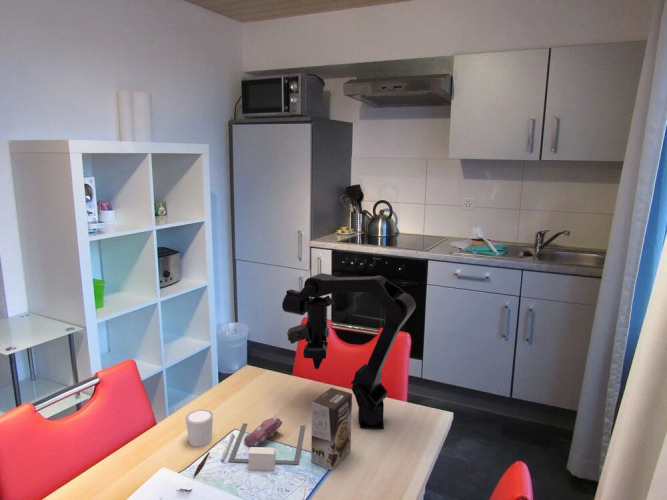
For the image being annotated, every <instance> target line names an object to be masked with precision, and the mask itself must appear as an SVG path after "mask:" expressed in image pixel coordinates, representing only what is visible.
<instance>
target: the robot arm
mask: <svg viewBox="0 0 667 500" xmlns="http://www.w3.org/2000/svg"><path fill="white" fill-rule="evenodd" d="M337 293H338V294H342V293H343V294H346V293H353V294H354V293H371V294H372V295H373V296H374V297H375V298H376V300H377V302H378V305H380V306H381V307H382V308H383V309H384V310H385V311H384V316H383V320H384V321H383V324H384V325H383V328H382V329H381V331H380V334H379V337H378V338H377V341H376V343H375V346H374V348H373V349H372V352H371V355H370V356H369V359H368V362H367V364H366V363H364V364H363V365H362V366H360V368H358V369H357V370H356V371H355V374H354V378H353V380H352V381H351V382H350V384H351V385H352V386H351V391H352V394H353V395H354V397H355V400H356V404H357V407H358V409H357V410H358V411H357V412H358V413H357V414H358V415H357V417H358V418H357V419H358V421H357V422H358V423H359V428H360V429H375V430H381V429H382V430H383V429H385V426H384V425H385V424H384V411H385V410H384V408H385V407H384V406H385V403H384V399H386V398H387V395H388V393H389V391H388V390H387V389H386V388H385V387H384V385H383V384H382V378H383V371H382V370H383V367H384V366H385V363H386V361H387V359H388V357H389V354H390V353H391V350H392V348H393V346H394V344H395V341H396V338H397V337H398V334H399V332H400V330H401V328H402V327H403V326H404V324H405V323H406V322H407V321H408V319H410V317H411V315H412V314H413V313H414V311H415V309H416V307H417V303H416V301H415V299H414V297H413V296H412V295H411V294H409V293H407V292H405V291H404V290H403V289H402V288H401V287H399V286H397V285H395V284H394V283H392V282H391V281H389V280H388V279H387V278H386V277H384V276H383V275H376V276H346V277H345V276H342V277H341V276H335V275H332V274H328V273H324V272H322V273H317V274H315V275H312V276H310V277H308V278H307V279H306V280H305V281H304V285H303V288H302V289H301V290H300V291H299V290H295V289H292V288H290V289H287V290H286V294H285V296H284V298H283V301H282V302H281V307H282V310H283V312H285V313H288V314H294V315H299V316H304V315H305V314H306V315H307V319H306V323H303V324H299V325H296V326H292V327H290V328H288V330H287V333H286V336H287V340H288V341H289V343H290V344H291V345H292V344H296V343H298V342H300V341H303V340H304V342H306V345H304V348H303V353H302V354H303V358H304V359H312V363H313V367H314V369H315V370H319V368H320V367H321V364H322V362H323V360H325V359H327V354H328V353H327V351H328V345H329V343H328V341H327V339H328V338H329V337H330V327H328V319H329V318H328V307H330V306H331V305H334V304H335V300H333V299H332V298H331V297H330V295H331V294H337Z"/></svg>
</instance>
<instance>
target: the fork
mask: <svg viewBox="0 0 667 500" xmlns="http://www.w3.org/2000/svg"><path fill="white" fill-rule="evenodd" d="M209 455H210V451H209V452H208V453H207V454H206V455H205V457H203V459H202V460H201V461H200V462H199V464H198V466H197V467H196V469H195V472H194V474H193V476H192V478H193V479H194V480H195V479H196V477H197V476H198V474H199V473H200V472H201V471H202V469H204V468H203V467H204V466H205V464H206V461H207V459H208V457H209ZM200 470H201V471H200ZM196 475H197V476H196ZM182 490H183V489H182ZM182 490H179V489H176V492H178V491H179V492H182V493H183V492H185V493H187V492H188V490H187V491H185V490H183V491H182ZM188 493H189V492H188Z"/></svg>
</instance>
